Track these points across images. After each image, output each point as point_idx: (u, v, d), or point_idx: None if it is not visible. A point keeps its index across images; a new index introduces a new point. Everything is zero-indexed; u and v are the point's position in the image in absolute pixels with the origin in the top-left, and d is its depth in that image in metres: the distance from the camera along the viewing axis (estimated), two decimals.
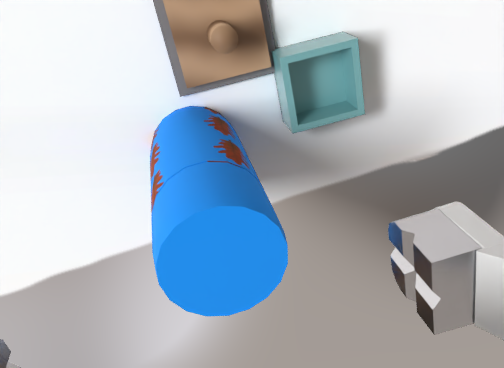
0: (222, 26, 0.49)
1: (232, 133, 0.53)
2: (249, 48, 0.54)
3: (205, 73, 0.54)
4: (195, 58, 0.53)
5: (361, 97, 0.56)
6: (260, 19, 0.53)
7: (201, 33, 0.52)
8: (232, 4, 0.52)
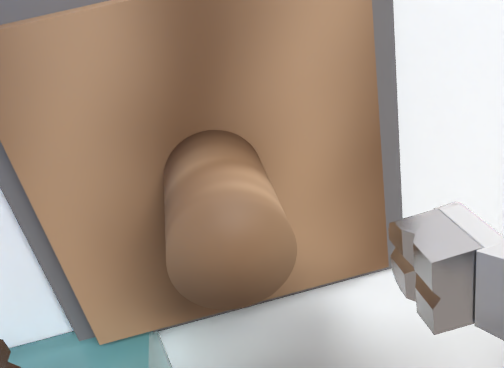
0: (292, 243, 0.10)
1: None
2: (160, 275, 0.15)
3: (43, 126, 0.12)
4: (107, 83, 0.12)
5: None
6: None
7: (213, 107, 0.13)
8: (312, 211, 0.15)
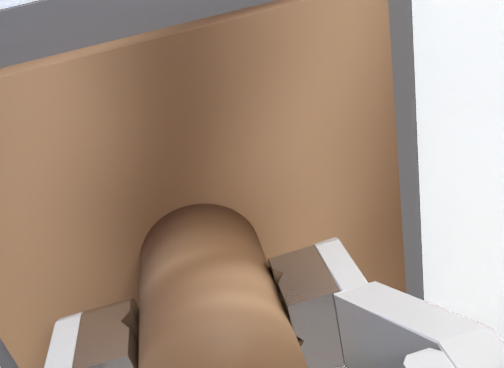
0: None
1: None
2: None
3: None
4: (65, 156, 0.10)
5: None
6: None
7: (198, 177, 0.10)
8: None
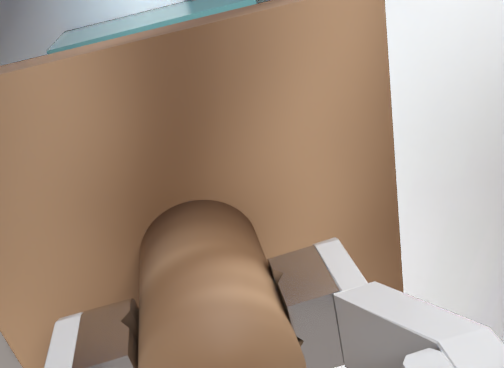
0: (300, 363, 0.08)
1: None
2: None
3: None
4: (66, 152, 0.10)
5: None
6: None
7: (198, 174, 0.11)
8: None
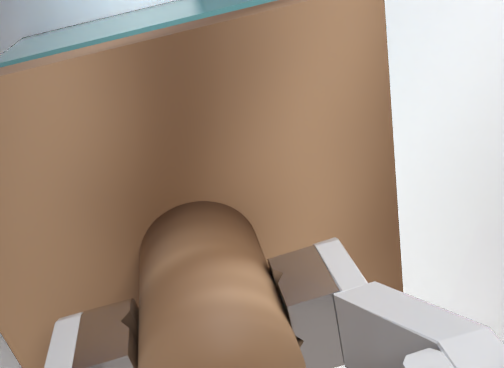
0: (300, 365, 0.08)
1: None
2: None
3: None
4: (66, 153, 0.10)
5: None
6: None
7: (198, 175, 0.11)
8: None
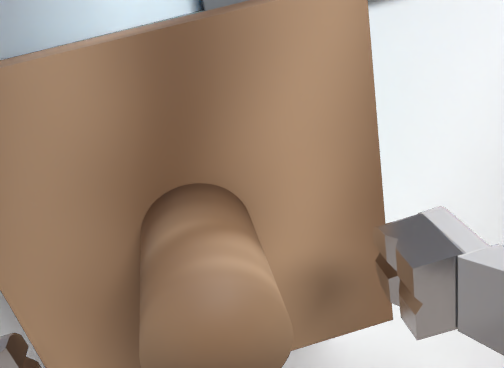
0: (288, 327, 0.09)
1: None
2: None
3: (0, 186, 0.11)
4: (73, 137, 0.11)
5: None
6: None
7: (195, 159, 0.11)
8: (307, 266, 0.13)
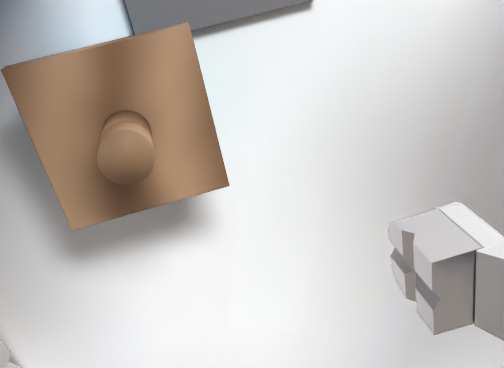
0: (152, 153, 0.24)
1: None
2: (103, 189, 0.29)
3: (41, 109, 0.26)
4: (72, 88, 0.26)
5: None
6: (156, 202, 0.30)
7: (124, 99, 0.27)
8: (181, 153, 0.29)
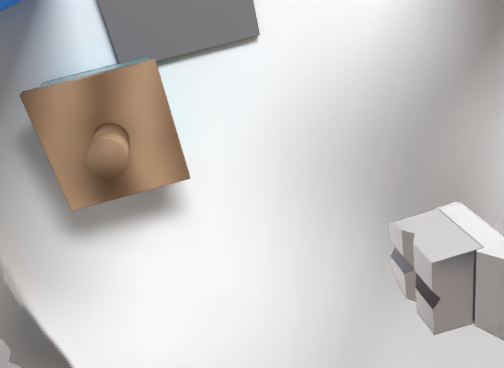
0: (126, 155, 0.34)
1: None
2: (94, 180, 0.39)
3: (48, 122, 0.36)
4: (70, 107, 0.36)
5: None
6: (134, 190, 0.40)
7: (108, 114, 0.37)
8: (152, 154, 0.39)
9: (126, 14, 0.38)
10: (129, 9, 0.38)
